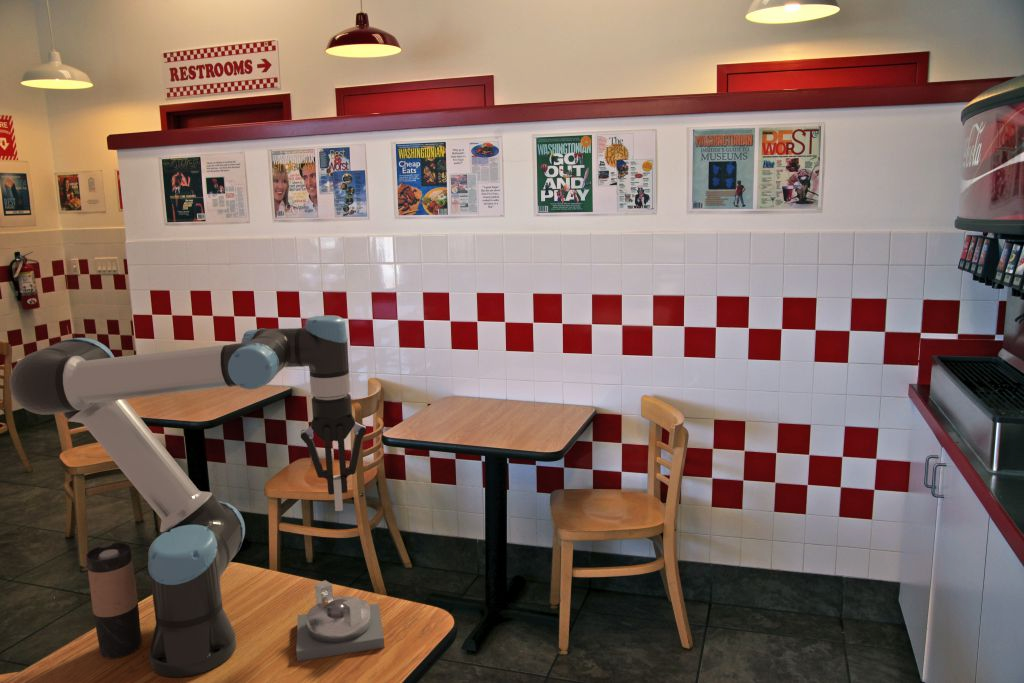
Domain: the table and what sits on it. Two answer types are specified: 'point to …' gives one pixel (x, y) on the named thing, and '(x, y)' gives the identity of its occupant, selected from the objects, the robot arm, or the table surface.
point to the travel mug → (114, 599)
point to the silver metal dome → (337, 616)
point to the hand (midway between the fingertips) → (339, 508)
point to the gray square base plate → (318, 649)
